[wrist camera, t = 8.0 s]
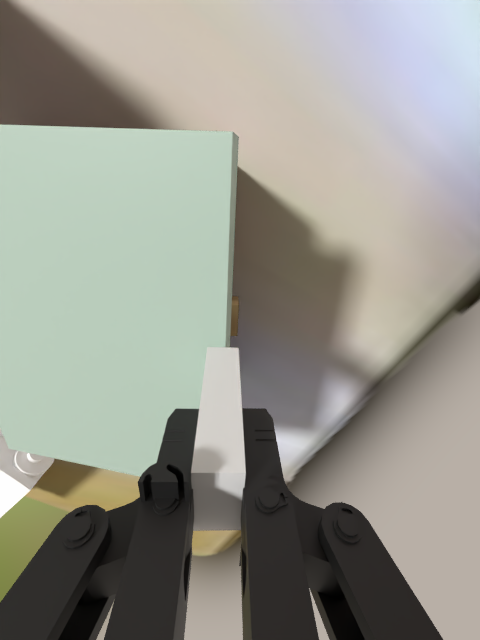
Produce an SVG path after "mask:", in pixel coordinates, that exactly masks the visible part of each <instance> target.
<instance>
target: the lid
mask: <svg viewBox="0 0 480 640" xmlns="http://www.w3.org/2000/svg"><path fill="white" fill-rule="evenodd" d="M238 140H239V137H238V136H237V135H236V134H235V133H234V132H227V131H194V130H162V129H129V128H97V127H64V126H32V125H0V429H1V431H2V434H3V436H4V438H5V441H6V443H7V446H8V448H9V449H13V450H17V451H22V452H27V453H31V454H36V455H41V456H46V457H50V458H55V459H60V460H64V461H69V462H74V463H79V464H83V465H88V466H93V467H97V468H102V469H107V470H112V471H116V472H121V473H126V474H130V475H135V476H140V477H141V475H142V473H143V472H144V471H145V470H146V469H147V468H149V467H150V466H151V465H153V464H155V463H157V459H158V455H159V451H160V447H161V443H162V439H163V435H164V432H165V427H166V424H167V420H168V418H169V416H170V415H171V414H172V413H173V411H174V410H175V409H199V407H200V399H201V392H202V384H203V376H204V369H205V361H206V353H207V347H228V348H230V333H231V309H232V285H233V261H234V237H235V212H236V188H237V164H238Z"/></svg>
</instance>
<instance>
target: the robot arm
mask: <svg viewBox="0 0 480 640" xmlns="http://www.w3.org/2000/svg"><path fill="white" fill-rule="evenodd" d="M138 486H139V492H140V497H139V498H138V499H136V500H135V501H134V502H132V503H129V504H127V505H125V506H122V507H119V508H116V509H113V510H110V511H107V512H105V510H104V509H103V508H101V507H99V506H97V505H86V506H82V507H79V508H76V509H75V510H73V511H72V512H70V513H69V514H67V515H66V516H65V517H64V518H63V519H62V520H61V521H60V522H59V523H58V524H57V526H56V527H55V528H54V530H53V531H52V532H51V534H50V535H49V536H48V538H47V539H46V541H45V542H44V543H43V545H42V546H41V548H40V549H39V550H38V552H37V553H36V554H35V556H34V557H33V558H32V560H31V561H30V562H29V564H28V565H27V567H26V568H25V569H24V571H23V572H22V573H21V575H20V576H19V578H18V579H17V580H16V582H15V583H14V584H13V586H12V588H11V589H10V590H9V591H8V593H7V594H6V595H5V597H4V598H3V600H2V601H1V602H0V640H96V639H97V636H98V634H99V632H100V630H101V628H102V625H103V623H104V621H105V619H106V617H107V615H108V612H109V610H110V608H111V606H112V604H113V602H114V604H113V608H112V612H111V616H110V619H109V623H108V626H107V630H106V634H105V637H104V640H184V632H185V621H186V611H187V601H188V591H189V580H190V570H191V558H192V536H193V531H200V530H241V553H240V565H239V566H241V583H242V618H243V640H319V637H318V632H317V627H316V622H315V617H314V612H313V607H312V601H311V596H310V591H309V588H310V590H311V592H312V595H313V598H314V600H315V603H316V605H317V608H318V611H319V613H320V615H321V618H322V621H323V624H324V626H325V629H326V631H327V634H328V636H329V639H330V640H443V639H442V637H441V635H440V634H439V632H438V631H437V629H436V627H435V626H434V624H433V623H432V621H431V620H430V618H429V616H428V615H427V613H426V612H425V610H424V608H423V607H422V605H421V604H420V602H419V601H418V599H417V597H416V596H415V595H414V593H413V591H412V590H411V588H410V586H409V585H408V584H407V582H406V580H405V578H404V577H403V575H402V574H401V572H400V570H399V569H398V567H397V566H396V564H395V563H394V561H393V559H392V558H391V556H390V555H389V553H388V551H387V550H386V548H385V547H384V545H383V543H382V542H381V540H380V539H379V537H378V536H377V534H376V533H375V531H374V530H373V528H372V526H371V524H370V523H369V521H368V520H367V519H366V518H365V517H364V515H363V514H362V513H361V512H360V511H359V510H357V509H356V508H354V507H353V506H351V505H348V504H345V503H342V502H341V503H332V504H330V505H329V506H327V507H326V508H325V509H322V508H320V507H316V506H314V505H310V504H308V503H305V502H303V501H301V500H299V499H298V498H297V497H295V496H294V495H293V494H292V493H291V492H290V491H289V489H288V488H287V486H286V484H285V481H284V478H283V473H282V468H281V462H280V457H279V452H278V446H277V442H276V435H275V430H274V424H273V419H272V417H271V416H270V414H269V413H268V412H267V410H266V409H245V408H242V399H241V381H240V364H239V348H228V347H207V353H206V361H205V369H204V376H203V384H202V392H201V399H200V407H199V409H175V410H174V411H173V413H172V414H171V415H170V416H169V418H168V420H167V424H166V427H165V432H164V435H163V439H162V443H161V447H160V451H159V455H158V459H157V463H155V464H153V465H151V466H150V467H149V468H147V469H146V470H145V471H144V472H143V473H142V475H141V477H140V479H139V481H138ZM114 599H115V600H114Z"/></svg>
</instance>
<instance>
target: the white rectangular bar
mask: <svg viewBox="0 0 480 640" xmlns="http://www.w3.org/2000/svg"><path fill="white" fill-rule="evenodd" d="M54 459H55V458H50V457H46V456H41V455H36V454H31V453H27V452H22V451H17V450H13V449H9V448H8V446H7V443H6V441H5V438H4V436H3V434H2V431H1V429H0V517H1V516H2V515H4V513H6V512H7V511H8V510H9V509H10V508H11V507H13V506H14V505H15V504H16V503H17V502H18V501H19V500H20V499H21V498H23V497H24V496H25V495H26V494H27V493H28V492H29V491H30V490H31V489H32V488H33V487H34V485H35V484H36V483H37V481H38V480H39V479H40V478H41V477H42V475H43V474H44V473H45V472H46V471H47V469H48V468H49V467H50V466H51V465H52V464H53V462H54Z"/></svg>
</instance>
